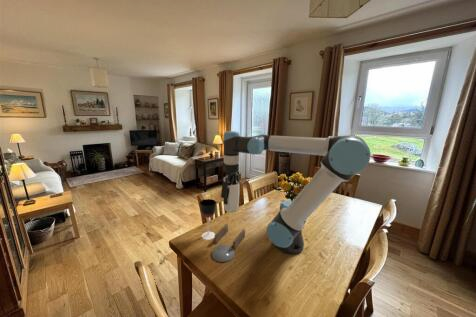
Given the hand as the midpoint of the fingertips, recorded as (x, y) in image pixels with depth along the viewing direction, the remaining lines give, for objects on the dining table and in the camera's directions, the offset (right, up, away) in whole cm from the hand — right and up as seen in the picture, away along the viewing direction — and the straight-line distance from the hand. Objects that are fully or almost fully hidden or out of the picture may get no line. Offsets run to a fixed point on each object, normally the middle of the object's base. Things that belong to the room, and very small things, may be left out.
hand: (231, 205), depth 98 cm
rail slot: (-1, -20, +5) cm, 20 cm away
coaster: (-4, -22, -6) cm, 23 cm away
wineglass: (-13, -19, +8) cm, 24 cm away
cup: (0, -3, +1) cm, 3 cm away
